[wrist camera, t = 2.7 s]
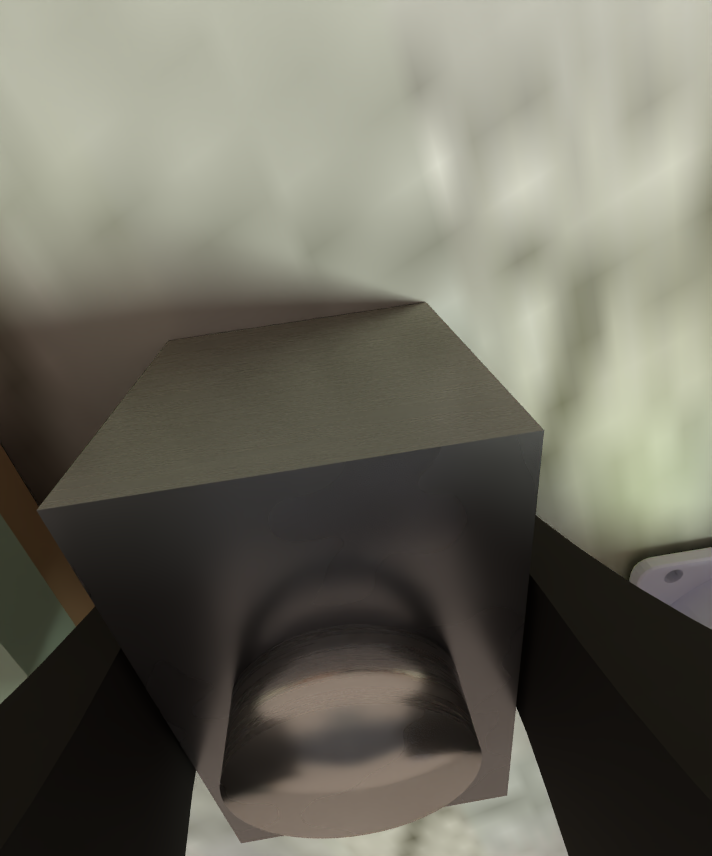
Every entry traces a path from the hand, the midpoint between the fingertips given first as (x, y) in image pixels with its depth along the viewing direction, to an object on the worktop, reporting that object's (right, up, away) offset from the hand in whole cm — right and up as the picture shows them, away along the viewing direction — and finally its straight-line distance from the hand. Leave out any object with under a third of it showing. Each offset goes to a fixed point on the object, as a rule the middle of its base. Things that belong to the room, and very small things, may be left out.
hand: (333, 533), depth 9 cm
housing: (0, +1, +1) cm, 2 cm away
